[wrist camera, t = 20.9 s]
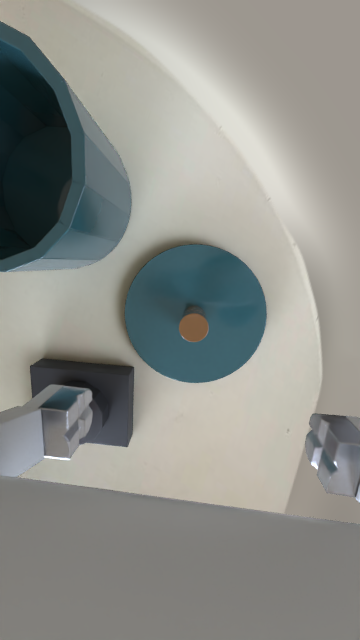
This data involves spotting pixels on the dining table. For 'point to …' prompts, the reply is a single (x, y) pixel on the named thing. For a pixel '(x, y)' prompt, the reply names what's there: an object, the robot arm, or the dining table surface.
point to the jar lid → (195, 313)
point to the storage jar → (53, 168)
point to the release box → (94, 395)
